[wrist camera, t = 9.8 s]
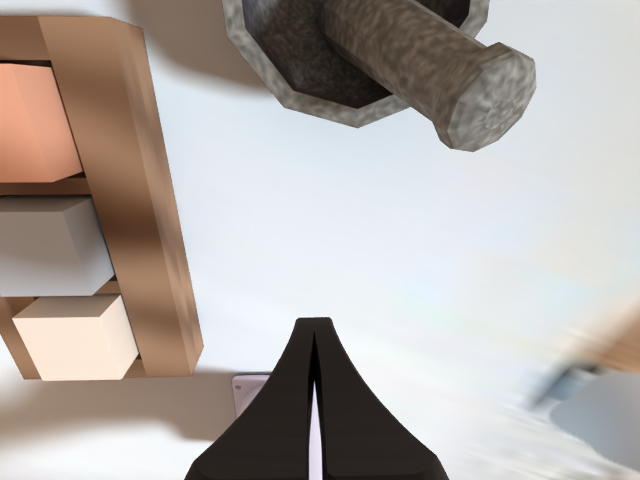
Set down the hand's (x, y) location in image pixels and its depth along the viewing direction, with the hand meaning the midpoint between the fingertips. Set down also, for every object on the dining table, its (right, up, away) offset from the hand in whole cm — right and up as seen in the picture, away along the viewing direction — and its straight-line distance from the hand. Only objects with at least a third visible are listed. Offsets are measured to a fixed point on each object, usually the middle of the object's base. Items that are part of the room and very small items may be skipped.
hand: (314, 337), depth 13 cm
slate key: (-15, +4, +7) cm, 17 cm away
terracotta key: (-15, +10, +5) cm, 19 cm away
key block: (-15, +5, +9) cm, 18 cm away
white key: (-15, -1, +10) cm, 18 cm away
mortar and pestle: (+2, +15, +5) cm, 16 cm away
